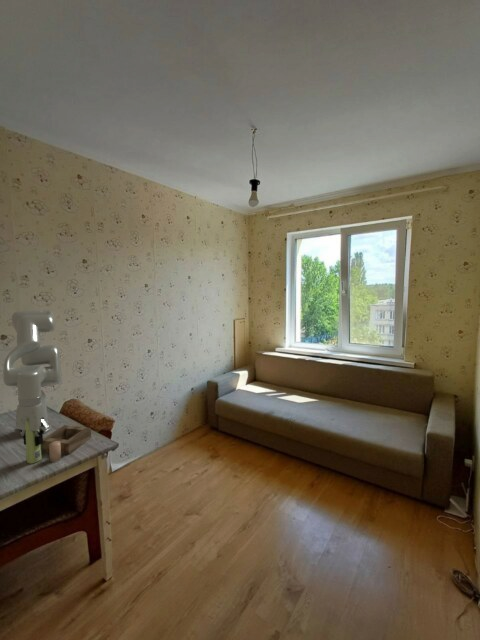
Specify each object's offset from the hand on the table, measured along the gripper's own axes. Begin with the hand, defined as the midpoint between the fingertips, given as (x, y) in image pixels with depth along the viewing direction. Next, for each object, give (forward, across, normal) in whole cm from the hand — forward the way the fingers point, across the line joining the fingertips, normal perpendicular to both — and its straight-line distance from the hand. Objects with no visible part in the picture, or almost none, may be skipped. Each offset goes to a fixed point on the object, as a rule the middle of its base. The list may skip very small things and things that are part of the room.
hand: (33, 443), depth 118 cm
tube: (+8, 0, 0) cm, 8 cm away
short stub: (+7, +8, +2) cm, 11 cm away
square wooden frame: (+7, +4, +13) cm, 15 cm away
